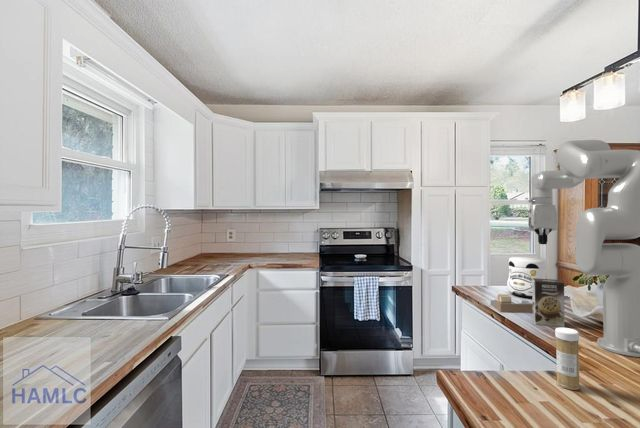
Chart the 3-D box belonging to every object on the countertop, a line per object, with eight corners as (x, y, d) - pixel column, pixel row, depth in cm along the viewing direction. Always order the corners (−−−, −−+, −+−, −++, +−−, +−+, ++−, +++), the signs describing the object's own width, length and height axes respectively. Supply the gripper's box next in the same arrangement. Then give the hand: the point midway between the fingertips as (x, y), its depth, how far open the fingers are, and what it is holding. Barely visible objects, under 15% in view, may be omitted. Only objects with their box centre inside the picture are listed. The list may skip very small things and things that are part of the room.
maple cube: (511, 306, 138) (511, 296, 138) (501, 306, 139) (501, 296, 139) (507, 303, 142) (507, 294, 142) (497, 303, 143) (497, 294, 143)
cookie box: (535, 324, 122) (534, 280, 121) (532, 319, 127) (531, 277, 127) (565, 327, 118) (564, 282, 118) (560, 322, 124) (560, 279, 124)
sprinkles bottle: (582, 386, 79) (581, 330, 79) (576, 393, 76) (574, 334, 76) (560, 379, 83) (559, 325, 83) (553, 384, 80) (552, 329, 80)
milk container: (510, 298, 158) (510, 260, 157) (504, 290, 174) (503, 256, 174) (553, 301, 152) (553, 262, 151) (543, 292, 168) (542, 257, 168)
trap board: (539, 312, 135) (539, 304, 135) (500, 312, 137) (500, 303, 137) (526, 305, 146) (526, 297, 146) (490, 304, 148) (490, 297, 148)
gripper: (527, 202, 141) (528, 245, 141) (566, 201, 139) (566, 244, 139) (519, 202, 149) (520, 243, 149) (555, 201, 147) (556, 243, 147)
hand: (542, 244), depth 144 cm, fingers closed
